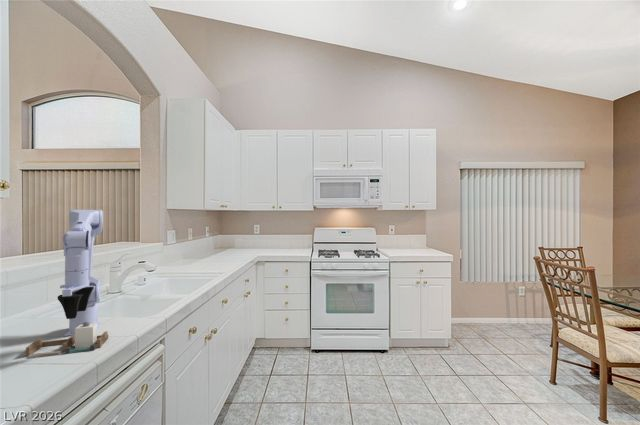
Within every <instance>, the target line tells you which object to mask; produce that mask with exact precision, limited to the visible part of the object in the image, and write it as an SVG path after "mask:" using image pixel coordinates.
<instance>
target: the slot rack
mask: <svg viewBox="0 0 640 425" xmlns="http://www.w3.org/2000/svg"><path fill="white" fill-rule="evenodd" d="M108 332H109V331H107V330H106V331H104V332H103V333H102V334H101V335H97V343H96V344H92V345H91V346H90V347H87V348H78V349H75V348H72V347H73V346H75V335H72V336H70V337H68V338H64V339H55V340H46V341H45V340H44V341H43V338H42V337H41V338H38V339H36V340H35V341H33V342H32V343H31V344H29V345H28V346H26V347H25V357H26V358H28V359H33V358H41V357H49V356H57V355H60V354H61V353H65V354H72V353H73V354H74V353H84V352H90V351H95V350H96V348H97V349H101V348H102V346H103V345H104V344H105V343H106V342H107V340H108V339H109V333H108ZM60 345H62V351H61V350H55V351H47V352H38V353H36V352H37V351H38V350H40V349H41V348H42V347H50V346H60Z"/></svg>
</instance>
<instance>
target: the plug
mask: <svg viewBox="0 0 640 425" xmlns="http://www.w3.org/2000/svg"><path fill="white" fill-rule="evenodd" d="M97 336H98V328H97V323H94V324H90V322H84V323H83V325H79V326H78V327H77V328H75V344H74V349H79V348H88V347H90V346H91V345H92V344H96V345H97Z"/></svg>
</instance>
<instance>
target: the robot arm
mask: <svg viewBox="0 0 640 425" xmlns="http://www.w3.org/2000/svg"><path fill="white" fill-rule="evenodd" d="M68 213H69V214H68V221H69V230H68V231H66V232H64V233H63V235H62V248H63V256H64V284H61V285H60V286H59V289H62V290H61V291H62V292H61V293H62V294H59V295H57V301H58V302H59V303H60V305H61V306H62V309H63V311H64V312H63V313H64V316H65V317H66V320H68V329H69V330H68V331H67V332H66V333H65V334H63V337H69V336H70V337H71V336H72V335H75V328H77V327H78V326H79V325H83V323H84V322H90V324H94V323H97V329H98V328H99V327H100V326H101V325H102V323H101V322H100V323H99V307H98V303H99V302H100V301H101V281H100V280H99V279H98V278H96V277H94V276H93V274H92V272H93V261H94V260H93V259H94V244H95V240H96V237H97V236H98V235H100V234H102V231H103V224H104V223H103V222H104V211H103V210H102V209H74V208H72V209H71V210H70V211H69V212H68Z"/></svg>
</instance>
